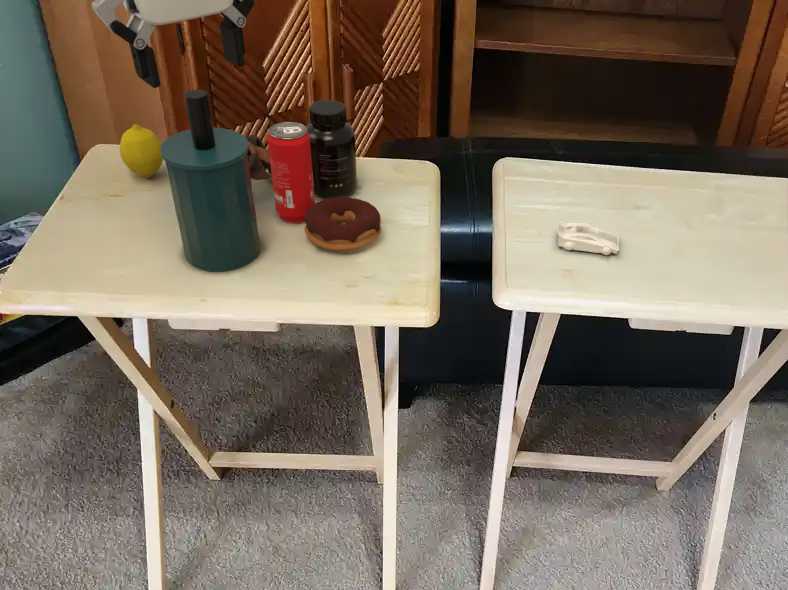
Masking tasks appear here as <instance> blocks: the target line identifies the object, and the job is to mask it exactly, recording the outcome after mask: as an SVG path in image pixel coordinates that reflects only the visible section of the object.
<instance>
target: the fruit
mask: <svg viewBox="0 0 788 590" xmlns="http://www.w3.org/2000/svg"><path fill="white" fill-rule="evenodd" d="M120 138H121V139H120V143H119V154H120V158H121V160H122V162H123V163H124V165H125V166H126V167H127V168H128V169H129V171H131V172H132V173H134V174H136V175H140V176H142V177H144V178H151V177H152V176H153V175H154V174H155V173H157V171H159V169H160V168H161V166H162V165H163V161H164V160H163V158H162V156H161V152H160V147H161V145H162V143H161V141H160V139H159V138H158V136H157V134H155V133H154V132H153V131H152V130H151V129H148V128H146V127H143V126H141V125H140V124H139V123H136V122H134V124H133V125H132V127H131V128H128V129H127V130H126V131H124V133H123V134H122V136H121V137H120Z"/></svg>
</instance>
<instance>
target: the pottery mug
mask: <svg viewBox="0 0 788 590" xmlns="http://www.w3.org/2000/svg"><path fill="white" fill-rule="evenodd" d="M244 137H245V138H246V139H247V141H248V146H249V151H248V153H247V155H248V162H249V169H250V176H251V180H254V181H267V180H269V179H271V180H272V173H271V164H270V156H269V150H267V149H266V148H265V145H264V143H263V141H262V139H261V138H260V137H258V135H255V134H250V135H248V136H244Z"/></svg>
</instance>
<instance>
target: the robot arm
mask: <svg viewBox="0 0 788 590" xmlns="http://www.w3.org/2000/svg"><path fill="white" fill-rule="evenodd" d="M122 4H123V6H124V9H125V11H126V12H127V13H129V14H131V15H130V17H129V19H128V21H127V23H126V24H124V23H123V22H122V21H121V20H120V19H119V17H118V16H117V14H116V9H117V8H118V7H119V6H120V5H122ZM90 6H91V9H92V11H93V12H94V13H95V14H96V16H98V18H99V19H100V21H101V22H103V24H104V25H105V26H106V28H107V29H108V30H109V31H111V32H112V33H113V34H114V35H116V36H118V37H120V38H121V39H122V40H124V41H125V42H127V43H128V44H129V48H130V53H131V57H132V62H133V67H134V70H135V74H136V76H137V77H138V78H139V79H141V80H142V81H143V82H145V83H146V84H147V85H148V86H150V87H151V88H152V89H158V88H160V86H161V84H162V83H161V78H160V74H159V70H158V65H157V60H156V56H155V51H154V49H153V47H151V46H150V45H149V44H148V43H149V41H150V38H151V36H152V34H153V33H154V30H155V29H156V26H164V25H169V24H175V23H179V22H184V21H189V20H194V19H199V18H205V17H208V16H213V15H218V14H219V15H220V16H221V17H222V19H223V20H220V21H219V22H220V24H219V29H220V36H221V37H220V38H221V43H222V50H223V56H224V59H225V60H226V61H228V62H229V63H231V64H233V65H235V66H236V67H239V68H241V67H245V63H246V62H245V56H244V55H245V54H246V47H245V39H244V33H243V32H244V31H243V28H244V27H245V26H246V24H247V17H248V16H249V15H250V12H251V11H252V9H253V7H254V6H255V0H93V1H92V3H91V5H90Z"/></svg>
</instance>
